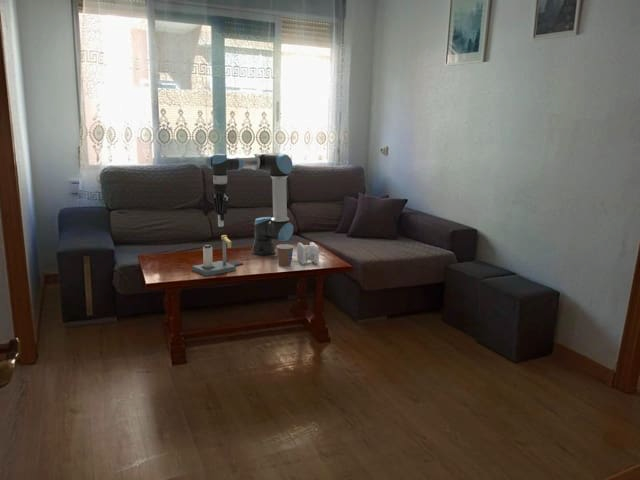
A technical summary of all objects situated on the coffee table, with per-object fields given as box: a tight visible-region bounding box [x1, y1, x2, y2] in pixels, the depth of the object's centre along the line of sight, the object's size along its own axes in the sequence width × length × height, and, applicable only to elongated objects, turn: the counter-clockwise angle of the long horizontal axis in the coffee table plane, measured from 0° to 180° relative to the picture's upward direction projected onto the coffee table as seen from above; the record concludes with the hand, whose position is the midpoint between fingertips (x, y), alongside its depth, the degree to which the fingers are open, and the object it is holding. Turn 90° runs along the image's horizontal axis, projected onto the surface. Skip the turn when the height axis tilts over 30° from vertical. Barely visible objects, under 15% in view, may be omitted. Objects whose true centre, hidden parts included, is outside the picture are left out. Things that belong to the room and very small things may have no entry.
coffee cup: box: [275, 243, 295, 268], centre depth 302 cm, size 10×10×12 cm
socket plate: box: [191, 240, 237, 277], centre depth 287 cm, size 19×15×17 cm
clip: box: [220, 234, 232, 249], centre depth 285 cm, size 16×3×4 cm, turn 22°
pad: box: [226, 260, 244, 267], centre depth 303 cm, size 8×8×1 cm
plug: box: [202, 244, 213, 269], centre depth 285 cm, size 6×6×15 cm
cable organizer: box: [296, 241, 320, 266], centre depth 311 cm, size 15×11×12 cm
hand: (220, 226), depth 279 cm, fingers closed
